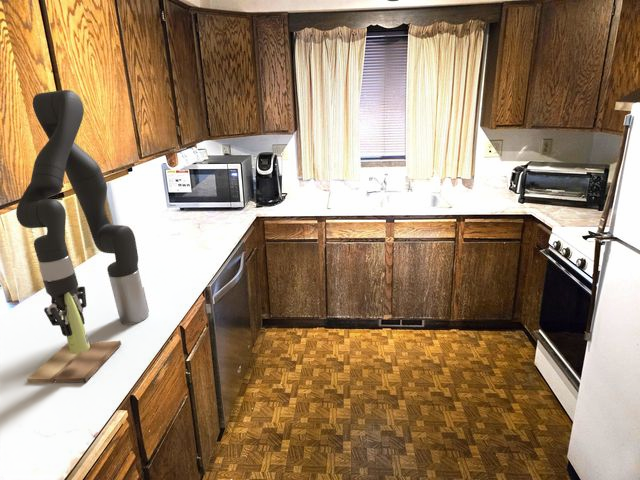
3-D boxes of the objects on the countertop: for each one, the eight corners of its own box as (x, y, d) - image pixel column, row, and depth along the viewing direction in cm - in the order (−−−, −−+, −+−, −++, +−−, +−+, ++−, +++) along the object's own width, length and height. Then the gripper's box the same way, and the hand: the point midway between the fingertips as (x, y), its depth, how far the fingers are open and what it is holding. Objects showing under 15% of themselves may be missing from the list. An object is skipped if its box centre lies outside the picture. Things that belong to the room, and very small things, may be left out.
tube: (64, 355, 122) (46, 290, 116) (74, 345, 127) (57, 282, 121) (84, 354, 122) (67, 289, 116) (94, 344, 127) (78, 281, 121)
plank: (94, 345, 137) (93, 342, 137) (121, 344, 136) (120, 340, 136) (55, 382, 120) (54, 378, 120) (86, 381, 119) (84, 377, 119)
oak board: (69, 345, 138) (68, 342, 138) (92, 345, 137) (91, 342, 137) (28, 382, 121) (26, 378, 121) (53, 382, 120) (52, 378, 120)
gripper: (63, 263, 124) (78, 317, 130) (25, 285, 111) (44, 344, 116) (87, 262, 123) (102, 317, 129) (53, 285, 110) (70, 344, 115)
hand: (74, 329), depth 122 cm, fingers closed on tube, 5 cm apart
